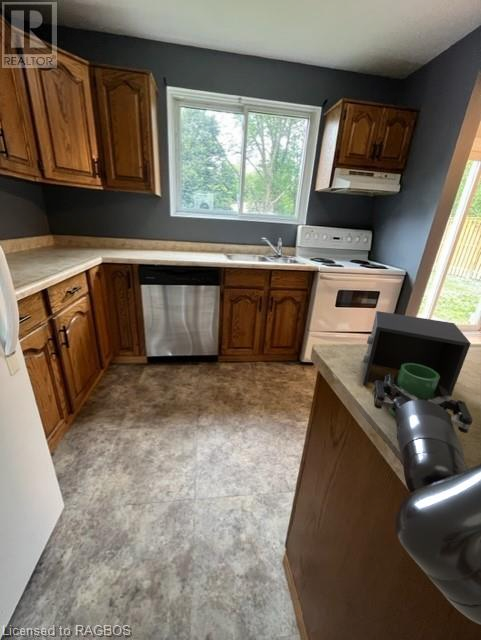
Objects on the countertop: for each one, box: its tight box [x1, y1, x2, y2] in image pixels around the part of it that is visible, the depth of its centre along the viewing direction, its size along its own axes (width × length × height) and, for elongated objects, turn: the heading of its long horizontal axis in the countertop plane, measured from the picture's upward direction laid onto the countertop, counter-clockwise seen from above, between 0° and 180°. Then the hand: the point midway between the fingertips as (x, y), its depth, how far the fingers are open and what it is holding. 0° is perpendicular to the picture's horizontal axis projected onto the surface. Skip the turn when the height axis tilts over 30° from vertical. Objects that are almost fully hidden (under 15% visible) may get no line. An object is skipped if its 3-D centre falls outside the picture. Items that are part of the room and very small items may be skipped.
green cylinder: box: [388, 363, 440, 419], centre depth 53 cm, size 6×6×10 cm
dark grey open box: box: [362, 310, 472, 398], centre depth 64 cm, size 18×13×15 cm
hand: (413, 383), depth 54 cm, fingers open, 8 cm apart
